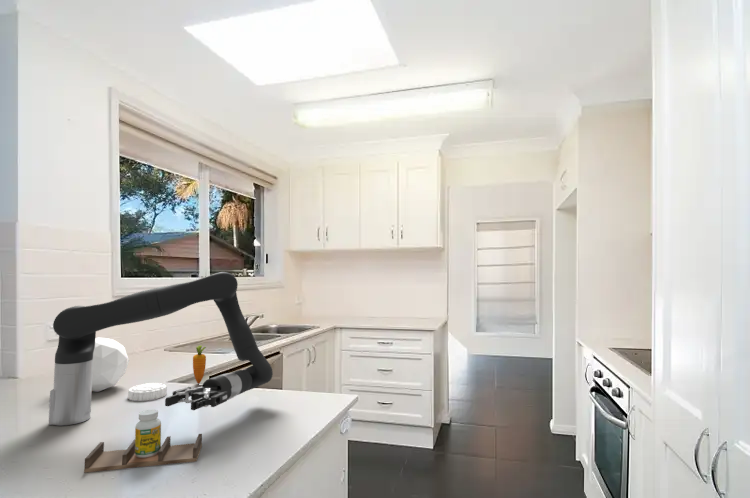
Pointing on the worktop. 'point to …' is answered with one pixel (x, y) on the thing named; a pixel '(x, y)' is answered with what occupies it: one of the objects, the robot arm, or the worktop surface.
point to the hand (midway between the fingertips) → (178, 404)
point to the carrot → (199, 364)
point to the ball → (108, 363)
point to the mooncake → (147, 391)
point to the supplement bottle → (147, 434)
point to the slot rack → (127, 458)
